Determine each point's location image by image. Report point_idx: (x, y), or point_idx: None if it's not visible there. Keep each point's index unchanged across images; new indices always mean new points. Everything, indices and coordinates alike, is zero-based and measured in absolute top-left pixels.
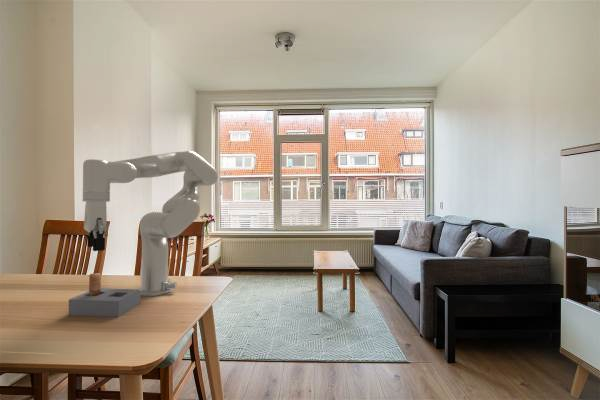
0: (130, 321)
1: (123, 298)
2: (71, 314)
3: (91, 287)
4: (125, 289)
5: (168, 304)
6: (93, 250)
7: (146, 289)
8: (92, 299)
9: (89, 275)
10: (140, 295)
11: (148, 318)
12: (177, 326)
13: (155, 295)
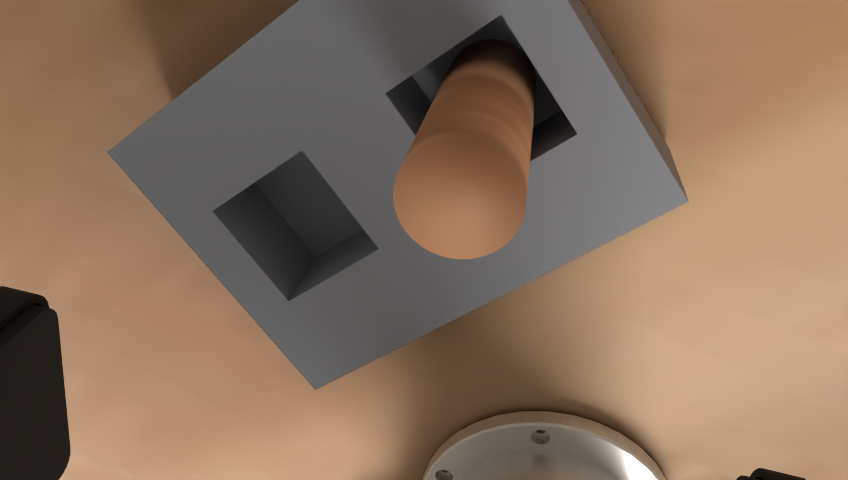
0: (58, 126)
1: (153, 204)
2: None
3: (442, 96)
4: (404, 330)
5: (213, 407)
6: (3, 292)
7: (502, 469)
8: (302, 26)
9: (470, 135)
10: (523, 411)
11: (45, 217)
12: None
13: (432, 457)
